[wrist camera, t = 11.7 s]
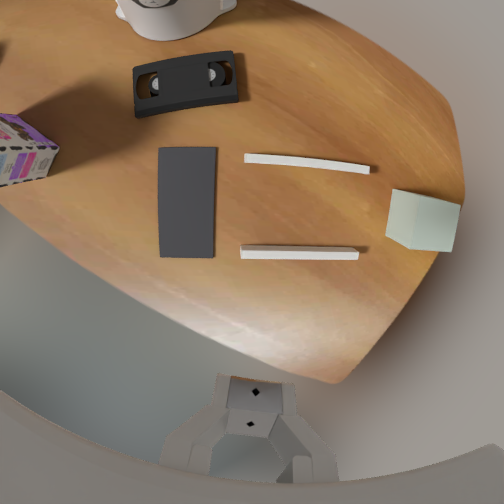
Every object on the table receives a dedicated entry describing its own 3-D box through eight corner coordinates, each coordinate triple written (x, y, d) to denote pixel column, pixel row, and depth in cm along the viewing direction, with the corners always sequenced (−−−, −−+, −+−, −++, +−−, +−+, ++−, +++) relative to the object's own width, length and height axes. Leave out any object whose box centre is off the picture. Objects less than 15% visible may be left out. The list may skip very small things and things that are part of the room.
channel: (159, 147, 36) (155, 147, 33) (362, 160, 39) (370, 161, 37) (160, 256, 41) (156, 262, 38) (350, 258, 44) (356, 264, 42)
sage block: (392, 188, 41) (419, 195, 34) (433, 197, 42) (460, 205, 35) (384, 235, 44) (409, 249, 37) (425, 239, 45) (451, 252, 38)
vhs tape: (232, 54, 33) (233, 50, 31) (237, 103, 35) (238, 100, 33) (136, 71, 32) (132, 67, 30) (139, 119, 34) (135, 117, 32)
